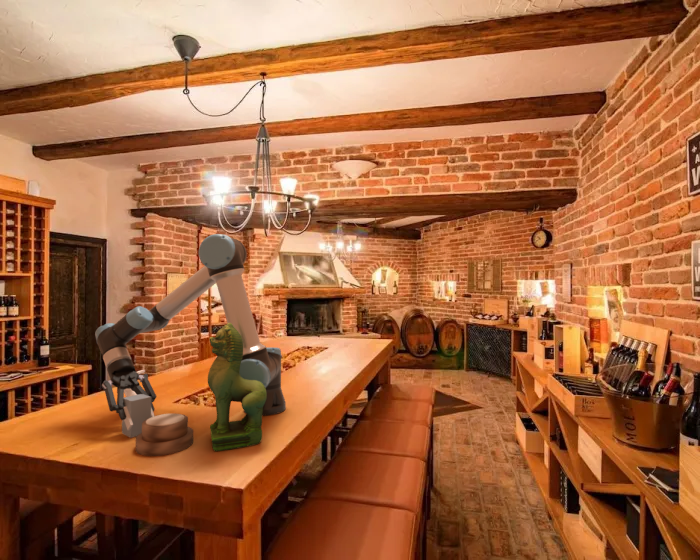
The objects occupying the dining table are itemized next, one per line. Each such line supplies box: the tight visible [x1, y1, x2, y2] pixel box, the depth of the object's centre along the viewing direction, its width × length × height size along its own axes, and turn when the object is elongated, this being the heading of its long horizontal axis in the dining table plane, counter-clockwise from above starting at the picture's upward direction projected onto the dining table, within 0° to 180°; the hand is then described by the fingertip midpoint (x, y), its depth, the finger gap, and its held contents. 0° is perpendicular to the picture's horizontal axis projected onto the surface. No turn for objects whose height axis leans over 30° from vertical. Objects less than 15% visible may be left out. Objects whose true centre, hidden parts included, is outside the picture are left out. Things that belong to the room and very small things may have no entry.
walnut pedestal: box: [135, 413, 194, 457], centre depth 114 cm, size 15×15×7 cm
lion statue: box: [207, 323, 267, 452], centre depth 117 cm, size 14×17×35 cm
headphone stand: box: [124, 369, 146, 397], centre depth 157 cm, size 5×6×12 cm
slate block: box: [121, 394, 151, 439], centre depth 123 cm, size 6×6×11 cm
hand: (141, 424), depth 121 cm, fingers closed on slate block, 6 cm apart
